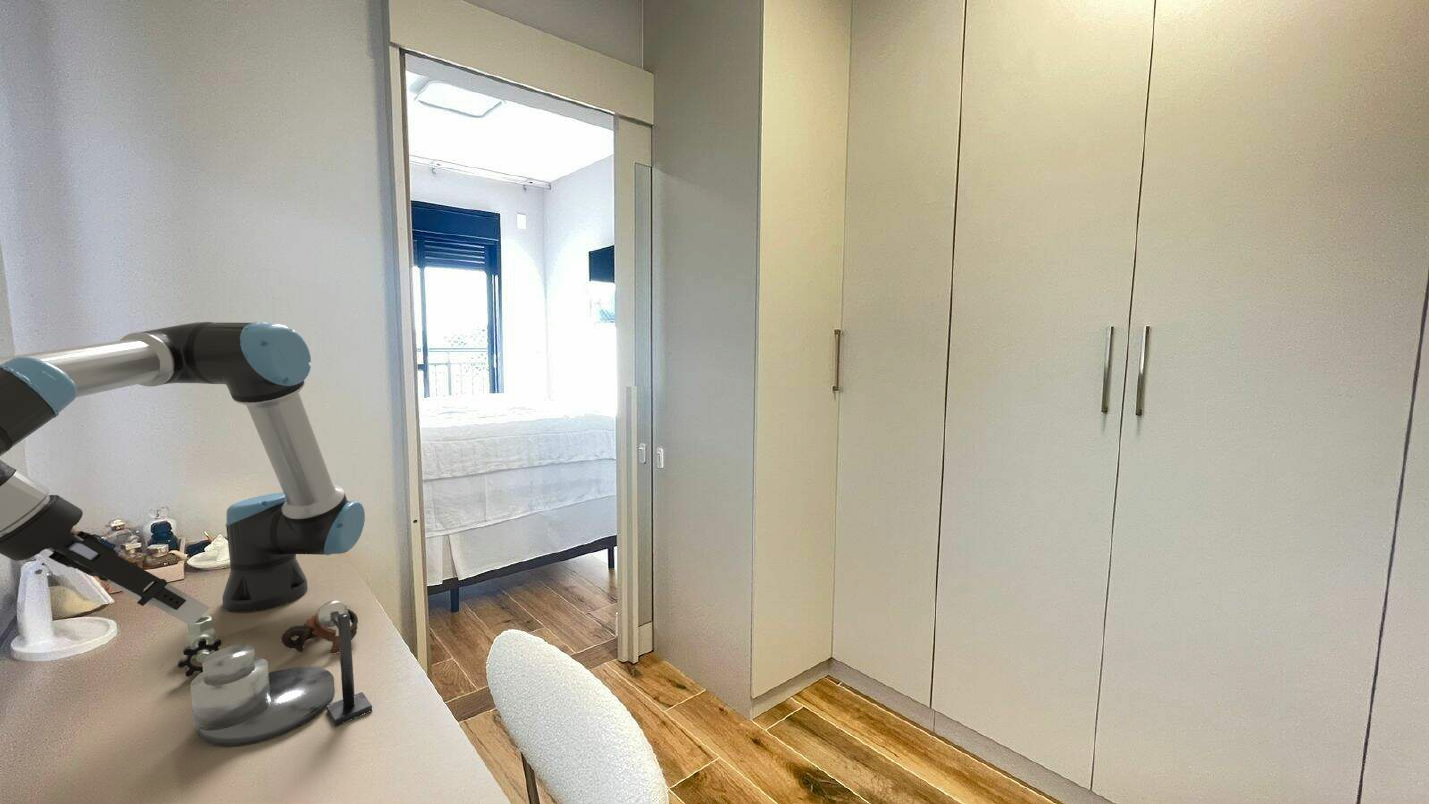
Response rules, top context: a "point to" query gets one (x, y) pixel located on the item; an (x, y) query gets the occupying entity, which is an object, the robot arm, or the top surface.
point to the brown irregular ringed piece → (315, 633)
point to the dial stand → (343, 665)
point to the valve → (199, 644)
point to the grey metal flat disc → (280, 707)
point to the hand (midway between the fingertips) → (179, 607)
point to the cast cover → (230, 688)
